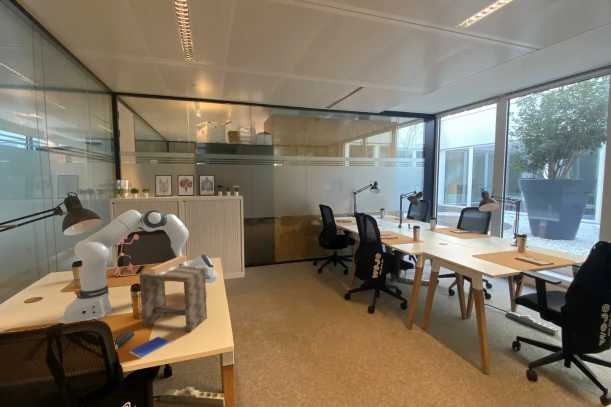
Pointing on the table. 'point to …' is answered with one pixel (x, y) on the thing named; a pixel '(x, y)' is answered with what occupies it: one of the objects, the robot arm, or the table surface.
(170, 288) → the table surface
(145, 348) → the hard drive
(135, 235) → the pink wire sculpture
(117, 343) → the usb drive
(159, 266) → the handle bar
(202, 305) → the stand
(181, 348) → the table surface
